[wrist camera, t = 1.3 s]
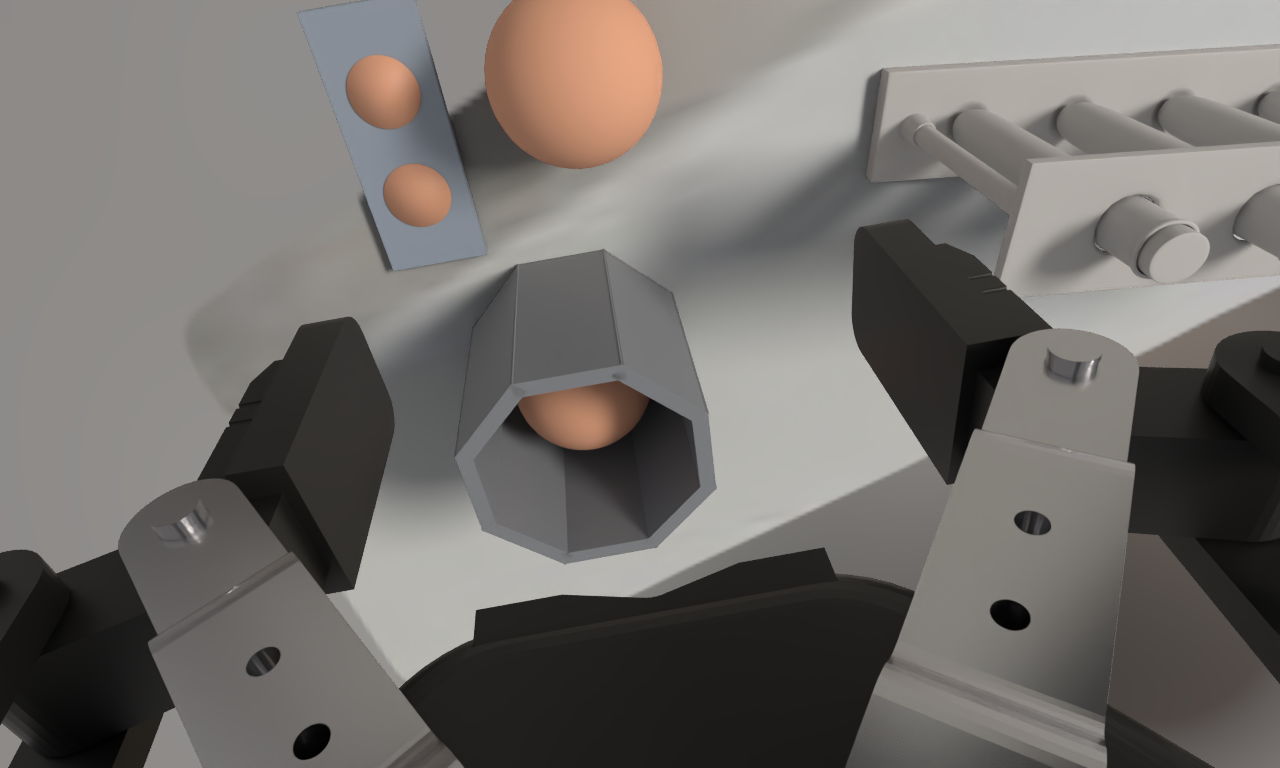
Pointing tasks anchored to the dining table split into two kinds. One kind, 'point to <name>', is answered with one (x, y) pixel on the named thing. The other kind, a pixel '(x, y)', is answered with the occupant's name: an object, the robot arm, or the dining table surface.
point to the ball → (573, 78)
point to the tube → (570, 358)
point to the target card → (396, 128)
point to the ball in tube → (585, 414)
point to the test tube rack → (1102, 161)
